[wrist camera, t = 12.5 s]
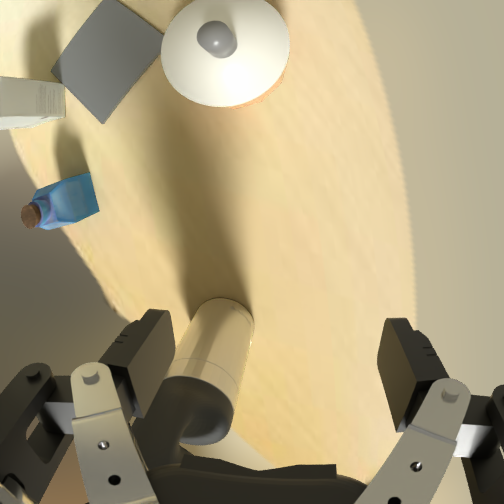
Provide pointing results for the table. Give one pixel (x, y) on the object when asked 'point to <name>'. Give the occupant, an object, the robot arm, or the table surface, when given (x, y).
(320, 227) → the table surface
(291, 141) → the table surface
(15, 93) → the skincare box
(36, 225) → the perfume bottle
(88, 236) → the table surface
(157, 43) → the mat
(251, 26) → the lid
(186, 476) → the robot arm
